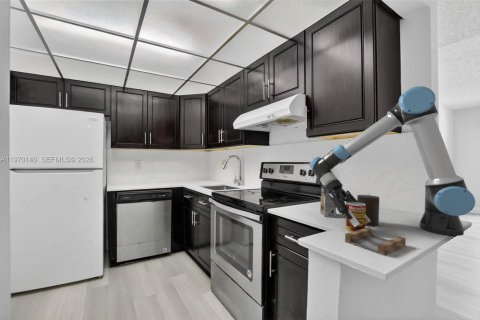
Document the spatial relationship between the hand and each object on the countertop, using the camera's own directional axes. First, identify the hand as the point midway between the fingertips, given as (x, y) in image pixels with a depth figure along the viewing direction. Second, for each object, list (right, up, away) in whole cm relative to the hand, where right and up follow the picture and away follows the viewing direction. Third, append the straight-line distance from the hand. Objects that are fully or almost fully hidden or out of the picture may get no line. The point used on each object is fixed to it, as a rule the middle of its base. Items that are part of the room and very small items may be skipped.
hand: (362, 224), depth 98 cm
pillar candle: (+10, -4, +14) cm, 18 cm away
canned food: (-2, -4, +3) cm, 5 cm away
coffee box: (-4, -3, +29) cm, 29 cm away
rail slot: (-3, -4, -13) cm, 14 cm away
